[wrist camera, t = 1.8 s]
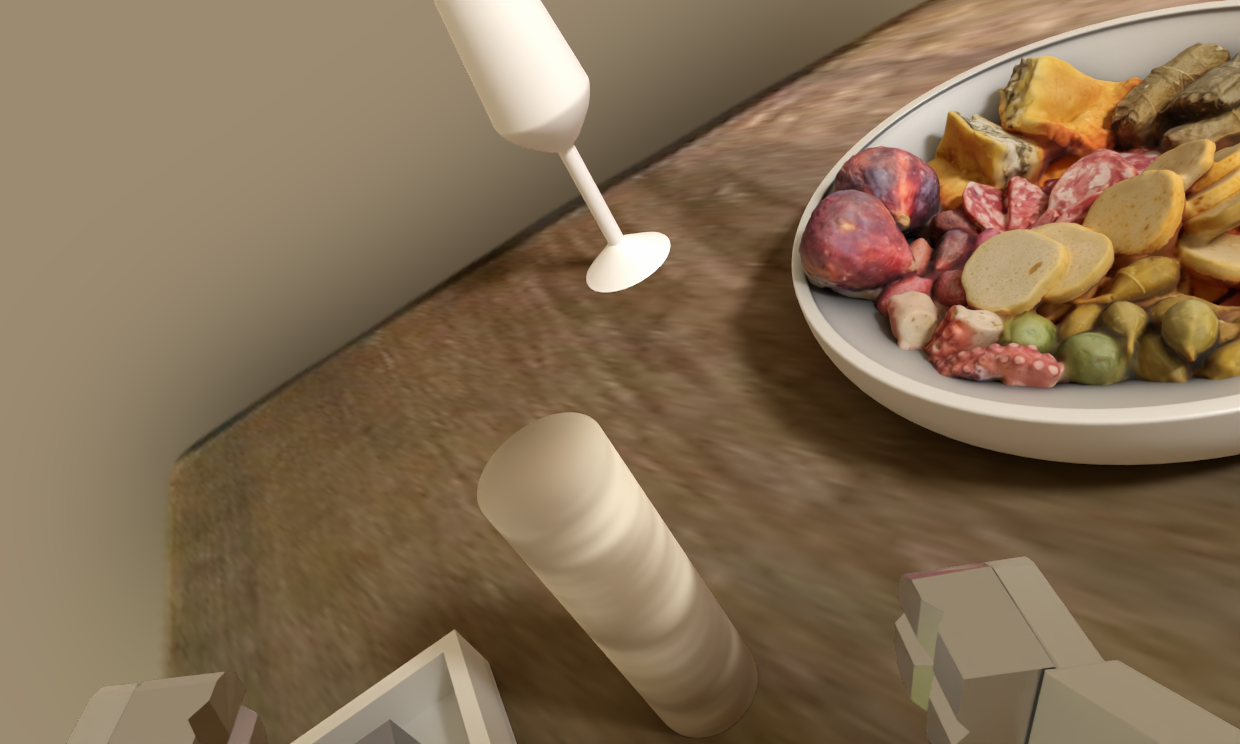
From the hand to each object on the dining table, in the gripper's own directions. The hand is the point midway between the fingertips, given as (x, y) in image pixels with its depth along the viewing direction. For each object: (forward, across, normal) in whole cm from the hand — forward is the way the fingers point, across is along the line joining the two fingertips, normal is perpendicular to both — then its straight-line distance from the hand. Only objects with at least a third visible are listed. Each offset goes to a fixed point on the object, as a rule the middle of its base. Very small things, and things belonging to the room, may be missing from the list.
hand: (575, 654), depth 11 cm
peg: (+16, -3, +21) cm, 26 cm away
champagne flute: (+49, -4, +17) cm, 52 cm away
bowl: (+29, -26, +12) cm, 41 cm away
